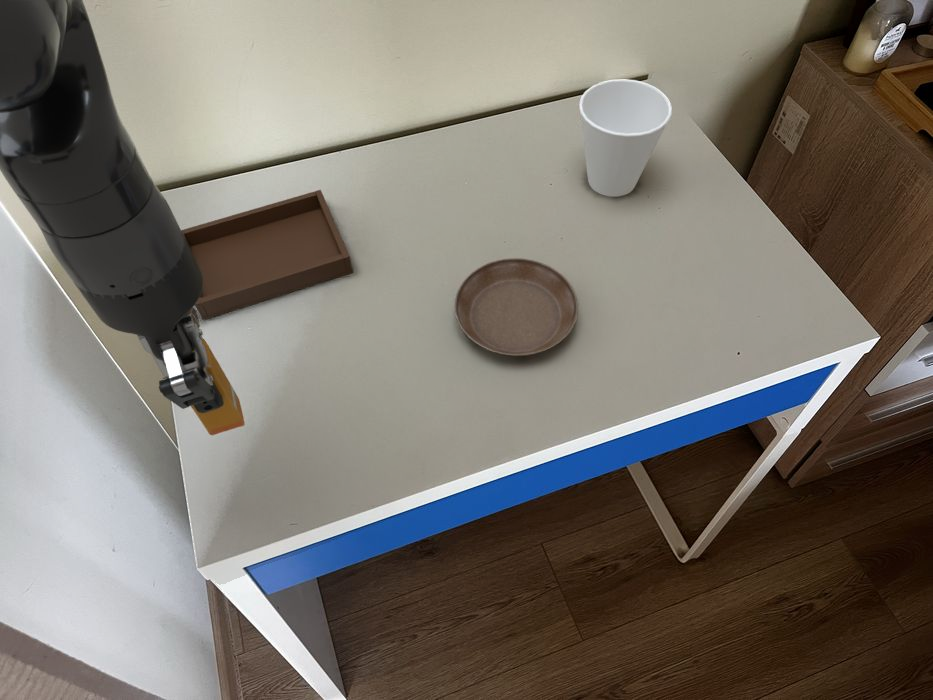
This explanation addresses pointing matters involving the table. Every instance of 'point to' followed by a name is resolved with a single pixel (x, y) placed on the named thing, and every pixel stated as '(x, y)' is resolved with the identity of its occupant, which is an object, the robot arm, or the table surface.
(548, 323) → the saucer
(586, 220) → the table surface
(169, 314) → the robot arm
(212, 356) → the supplement box
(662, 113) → the cup
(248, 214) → the tray
